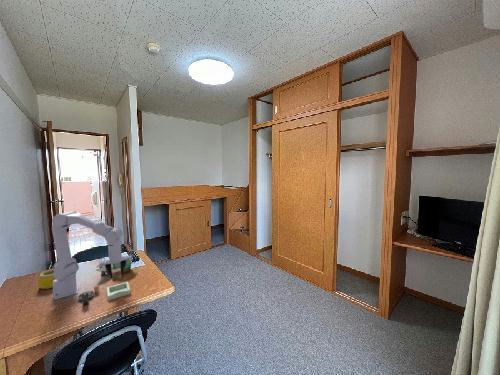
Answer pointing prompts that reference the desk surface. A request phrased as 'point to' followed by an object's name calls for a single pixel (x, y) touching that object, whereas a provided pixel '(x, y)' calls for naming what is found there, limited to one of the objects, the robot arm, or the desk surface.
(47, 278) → the mug
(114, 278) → the block
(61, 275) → the robot arm
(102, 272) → the giant panda
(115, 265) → the food container
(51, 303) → the desk surface
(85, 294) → the crank
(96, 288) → the post
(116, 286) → the tray
